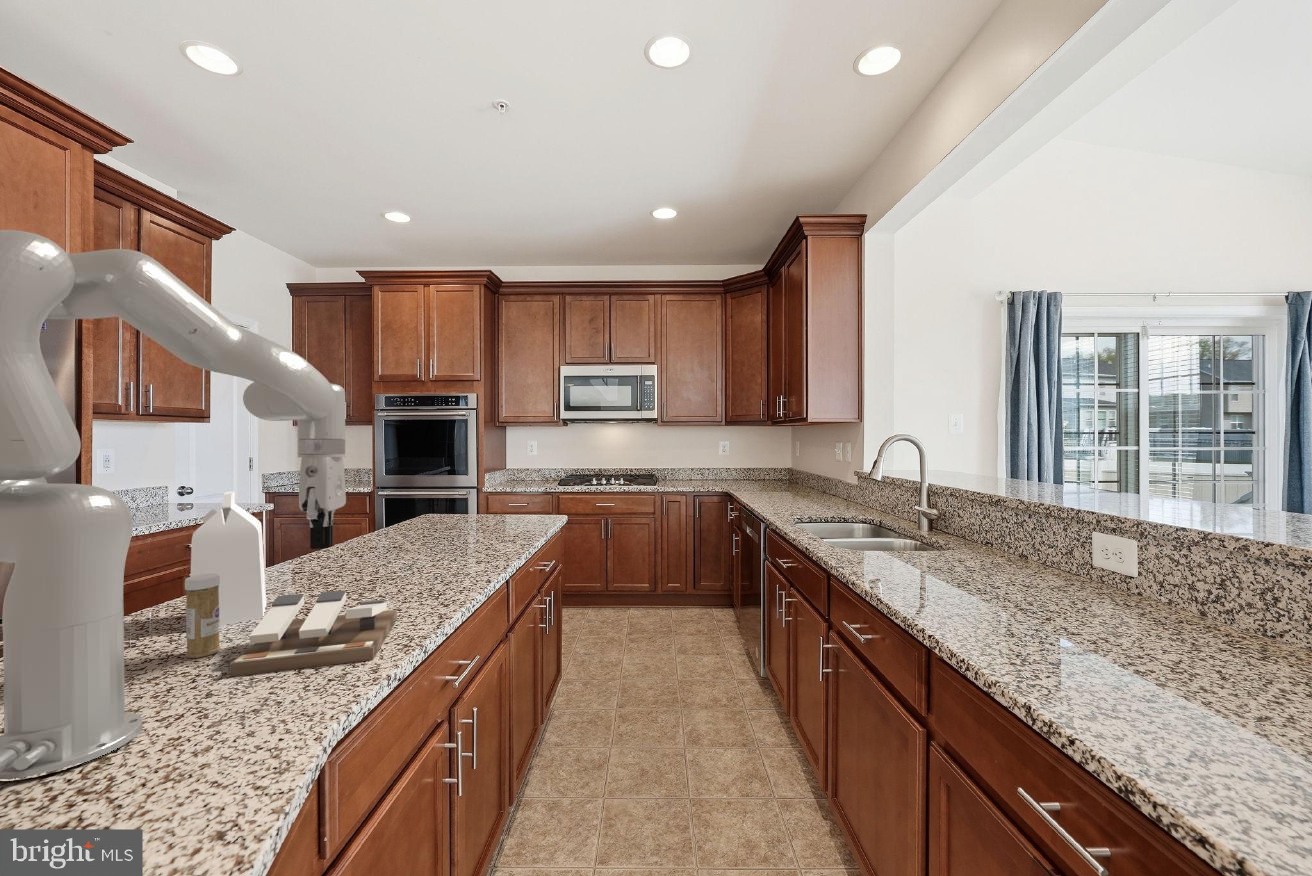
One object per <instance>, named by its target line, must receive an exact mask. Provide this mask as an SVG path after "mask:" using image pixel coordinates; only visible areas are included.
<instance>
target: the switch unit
mask: <svg viewBox="0 0 1312 876" xmlns="http://www.w3.org/2000/svg"><path fill="white" fill-rule="evenodd" d="M306 619H307V617H306V618H298V619H295V618H294V619H293V621H292V622H291V624H290V625H289V627H288V628H287V630H286V631H285V633H284V634H283V636H282V637H281V639H280V640H279V641H273V642H264V643H254V644H251V646H250V647H249V648H247V649H246V650H245V651H244V652H243V653H241V654H240V655H239V656H238V657H236V658H235V659H234V660H232V662H230V663H229V677H237V676H245V675H254V674H263V673H272V672H280V671H281V672H282V671H289V670H297V669H306V668H314V667H322V666H323V667H324V666H331V665H341V664H349V663H355V662H356V663H358V662H365V661H374V659H375V657H376V655H377V654H378V652H379V650H380V649H381V647H382V646H383V644H384V642H385V640H386V639H387V637H388V636H389V634H390V632H391V630H392V629H393V627H394V626H395V624H396V622H397V621H398V610H397V609H393V610H391V609H390V610H385V611H383V612H380V613H378V614H376V615H374V616H372V617H362V618H351V619H346V614H338V616H337V618H336V620H335V621H334V623H333V625H332V627H331V629H330V631H329V633H328V635H327V636H322V637H312V638H302V639H300V637H299V630H300V628H301V626H302V625H303V623H304V622H305V620H306Z"/></svg>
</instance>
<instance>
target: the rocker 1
mask: <svg viewBox="0 0 1312 876" xmlns="http://www.w3.org/2000/svg"><path fill="white" fill-rule="evenodd" d="M304 604H305V596H304V593H298V594H297V593H295V594H285V595H283V594H282V595H278V596H276V598H275V599H274V601H273V602H272V604H271V607H270V609H269V610H268V611H267V612H266V614H264V617H263V619H262V620H259V623H258V624H257V625H256V627H255V628H254V630H253V631H252V632H251V633H250V635H249V642H250V644H251V645H253V644H255V643H264V642H273V641H279V640H280V639H281V637H282V636H283V634H284V633H285V631H286V630H287V628H288V627H289V625H290V624H291V622H292V621H293V620H295V617H296V616H297V614H298V613H299V611H300V610H301V608H302V607H303V605H304Z"/></svg>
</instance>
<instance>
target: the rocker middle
mask: <svg viewBox="0 0 1312 876" xmlns="http://www.w3.org/2000/svg"><path fill="white" fill-rule="evenodd" d="M346 601H347V591H346V590H334V591H322V592H321V593H320V594H319V595H318V597H317V599H316V601H315V604H314V606H313V608H312V609H311V611H310V612H309V614H308V616H307V617H306V618H307V619H306V618H305V619H306V620H305V622H304V623H303V625H302V626H301V628H300V630H299V637H300V639H302V638H312V637H322V636H327V635H328V633H329V631H330V629H331V627H332V625H333V623H334V621H335V620H336V618H337V616H338V615H340V613H341V610H342V609H343V606H344V604H345V602H346Z"/></svg>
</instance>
